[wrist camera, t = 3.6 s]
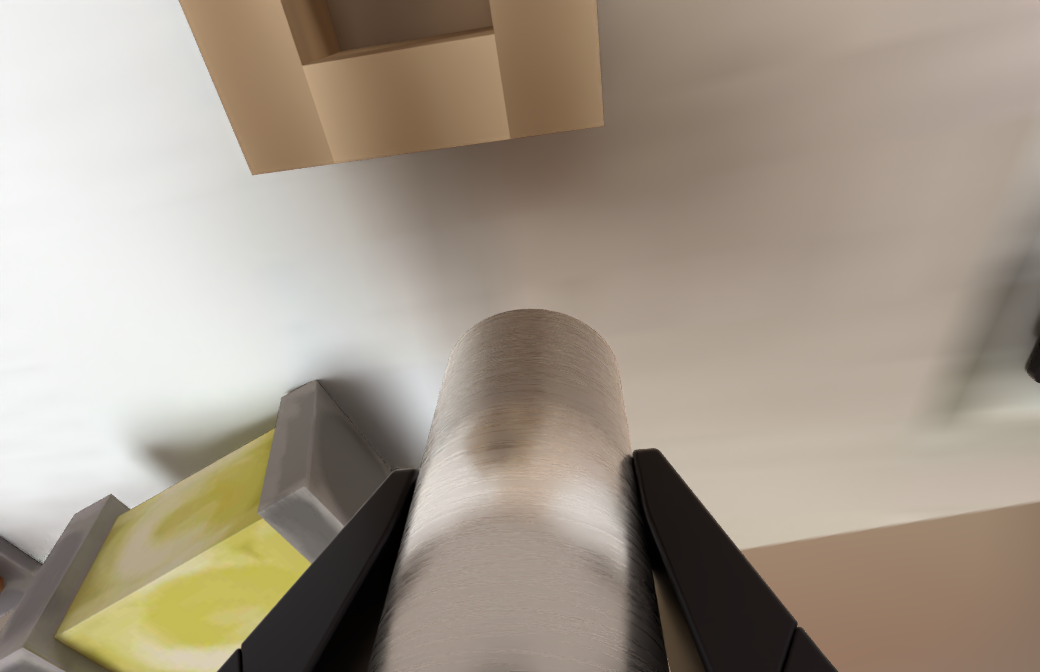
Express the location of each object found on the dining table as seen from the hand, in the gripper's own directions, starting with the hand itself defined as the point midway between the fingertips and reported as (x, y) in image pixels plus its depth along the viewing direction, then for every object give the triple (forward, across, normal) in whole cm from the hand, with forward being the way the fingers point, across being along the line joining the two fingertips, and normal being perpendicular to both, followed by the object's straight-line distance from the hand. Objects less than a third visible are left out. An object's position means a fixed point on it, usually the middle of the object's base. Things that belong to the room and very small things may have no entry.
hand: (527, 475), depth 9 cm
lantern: (+13, +24, +14) cm, 31 cm away
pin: (+2, 0, 0) cm, 2 cm away
